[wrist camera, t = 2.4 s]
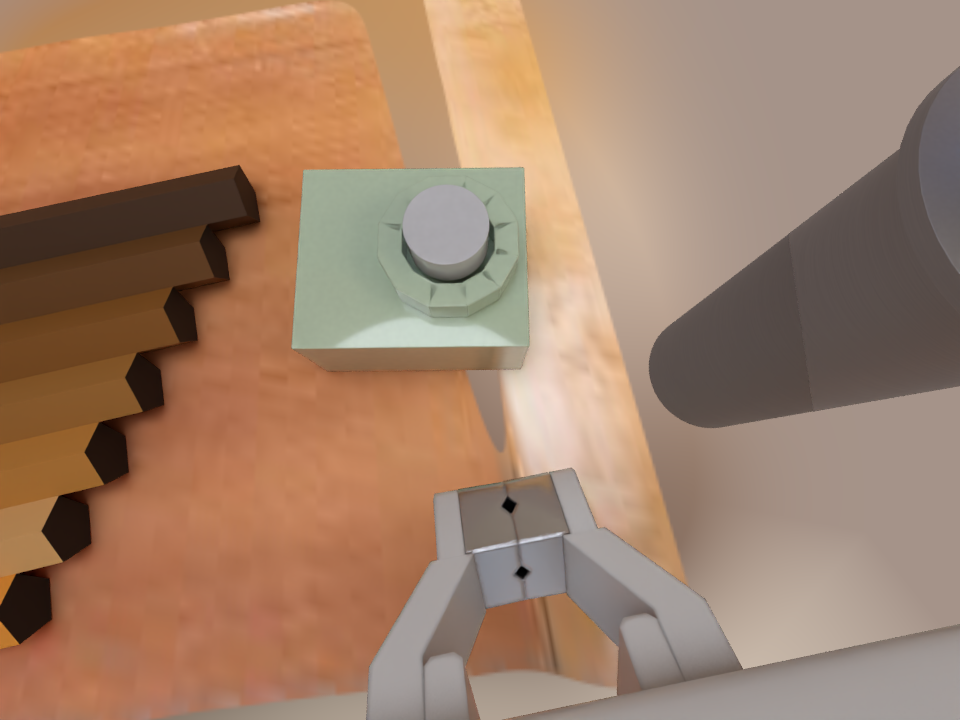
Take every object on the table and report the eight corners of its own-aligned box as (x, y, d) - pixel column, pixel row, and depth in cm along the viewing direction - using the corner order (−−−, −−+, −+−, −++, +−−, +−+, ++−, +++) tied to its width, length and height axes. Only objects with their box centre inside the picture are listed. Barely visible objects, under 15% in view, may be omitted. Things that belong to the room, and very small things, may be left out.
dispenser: (516, 220, 34) (527, 146, 26) (520, 369, 32) (533, 337, 24) (334, 222, 34) (291, 149, 26) (327, 371, 32) (276, 340, 24)
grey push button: (488, 205, 26) (488, 183, 24) (489, 280, 25) (490, 264, 23) (409, 206, 26) (402, 184, 24) (407, 281, 25) (401, 265, 23)
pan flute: (253, 182, 35) (-128, 264, 34) (229, 152, 31) (-195, 242, 30) (316, 566, 30) (-131, 677, 29) (295, 578, 26) (-211, 704, 25)
